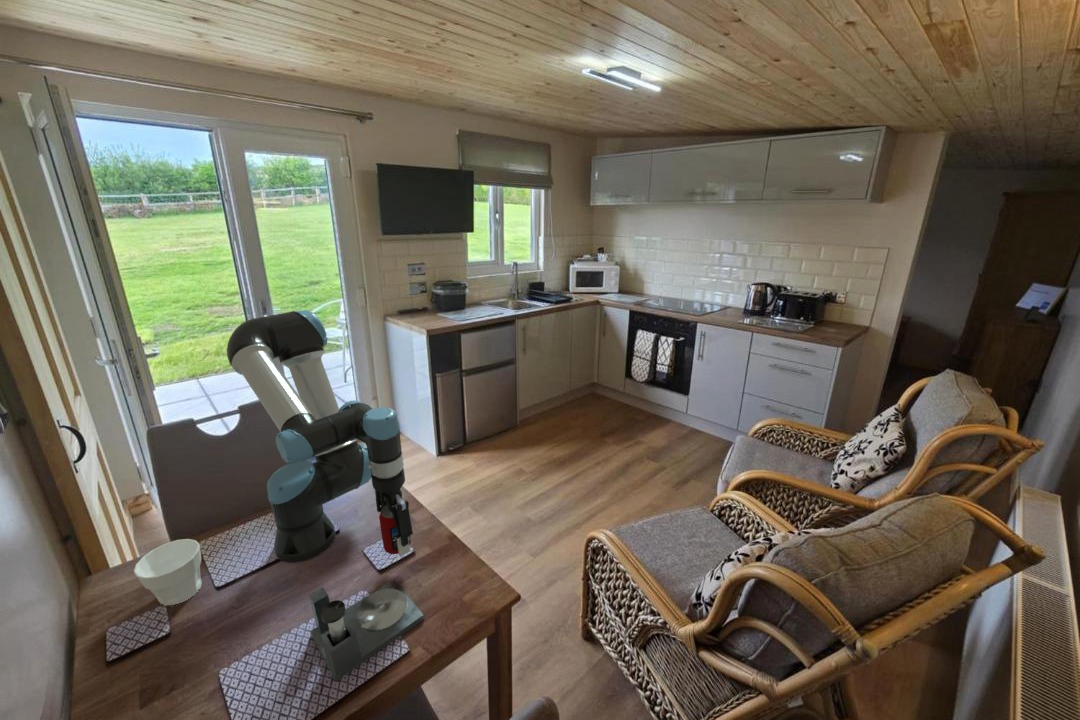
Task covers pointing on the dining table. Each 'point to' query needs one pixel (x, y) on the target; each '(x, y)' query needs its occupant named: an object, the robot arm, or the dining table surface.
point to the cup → (171, 571)
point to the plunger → (335, 620)
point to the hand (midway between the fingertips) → (397, 544)
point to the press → (364, 626)
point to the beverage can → (389, 531)
